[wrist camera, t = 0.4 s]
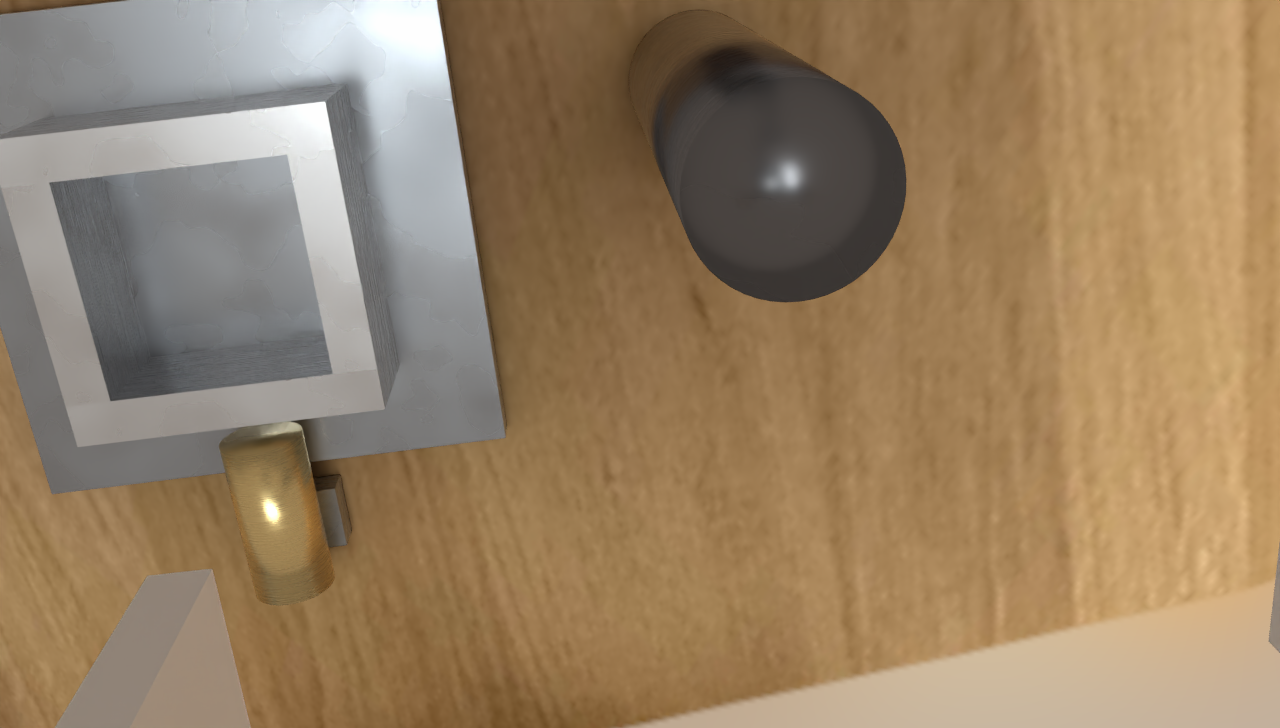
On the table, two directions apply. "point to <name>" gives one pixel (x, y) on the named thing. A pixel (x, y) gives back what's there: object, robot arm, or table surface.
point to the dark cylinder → (766, 158)
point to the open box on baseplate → (240, 253)
